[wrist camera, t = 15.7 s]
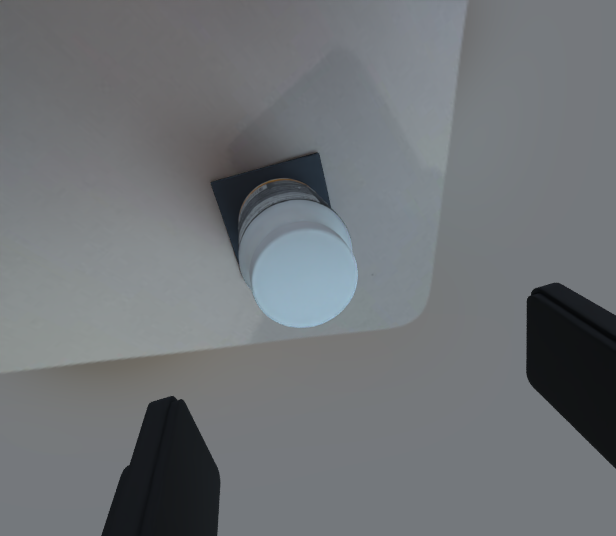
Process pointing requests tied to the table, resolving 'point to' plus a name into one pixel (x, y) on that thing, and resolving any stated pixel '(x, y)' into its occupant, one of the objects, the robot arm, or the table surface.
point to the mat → (239, 186)
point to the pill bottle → (295, 254)
